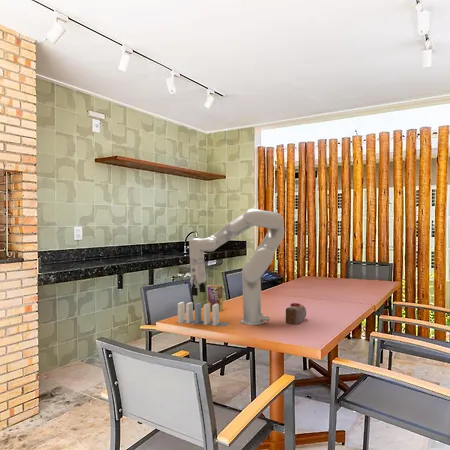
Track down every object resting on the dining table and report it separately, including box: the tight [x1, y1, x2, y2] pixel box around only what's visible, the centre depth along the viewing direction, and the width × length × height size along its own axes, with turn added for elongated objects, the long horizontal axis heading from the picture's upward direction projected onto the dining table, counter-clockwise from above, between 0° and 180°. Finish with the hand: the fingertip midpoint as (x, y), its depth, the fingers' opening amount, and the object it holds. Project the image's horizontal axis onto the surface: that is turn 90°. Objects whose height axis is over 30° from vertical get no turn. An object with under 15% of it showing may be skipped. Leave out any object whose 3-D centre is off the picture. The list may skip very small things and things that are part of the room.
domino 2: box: [185, 301, 194, 324], centre depth 208 cm, size 2×5×10 cm, turn 159°
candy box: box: [207, 284, 224, 312], centre depth 236 cm, size 9×4×15 cm, turn 96°
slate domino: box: [194, 302, 203, 325], centre depth 206 cm, size 2×5×10 cm, turn 159°
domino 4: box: [211, 304, 220, 326], centre depth 203 cm, size 2×5×10 cm, turn 159°
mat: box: [175, 319, 231, 327], centre depth 206 cm, size 28×7×1 cm, turn 69°
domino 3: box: [202, 302, 211, 326], centre depth 204 cm, size 2×5×10 cm, turn 159°
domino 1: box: [177, 301, 186, 324], centre depth 210 cm, size 2×5×10 cm, turn 159°
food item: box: [285, 302, 307, 326], centre depth 206 cm, size 14×8×10 cm, turn 150°
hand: (198, 293), depth 206 cm, fingers open, 9 cm apart
